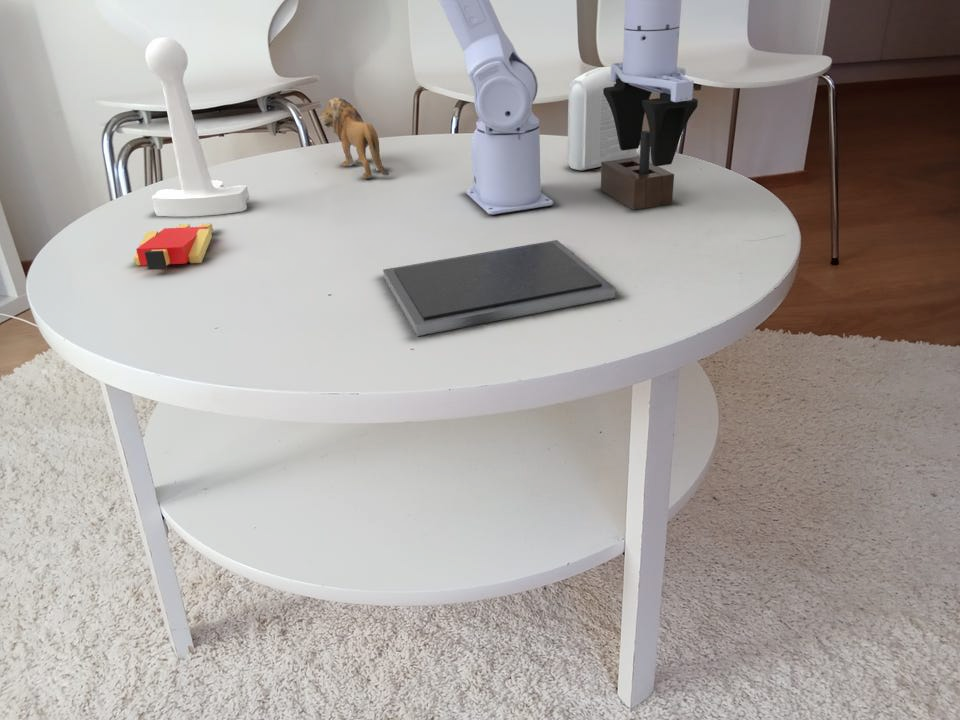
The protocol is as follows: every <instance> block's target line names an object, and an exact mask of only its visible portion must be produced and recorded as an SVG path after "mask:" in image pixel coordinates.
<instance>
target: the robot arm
mask: <svg viewBox="0 0 960 720" xmlns="http://www.w3.org/2000/svg"><path fill="white" fill-rule="evenodd" d="M438 1H439V3H440V7H442V9H443V12H444V14H445V16H446V18H447V20H448V22H449V25H450V27H451V29H452V31H453V33H454V35H455V38H456V39H457V42H458V44H459V47H460V48H461V50H462V52H463V57H464V62H465V67H466V73H467V76H468V77H469V79H470V82H471V84H472V88H473V96H474V97H473V99H474V100H473V104H474V105H473V106H474V109H475V110H474V111H475V112H476V114H477V117H478V119H477V121H476V122H475V123H476V129H474V132H473V133H472V137H471V141H470V153H471V154H470V155H471V171H472V172H471V173H472V186H473V187H472V188H467V189H466V190H465V193H466V195H467V196H468V197H469V198H471V199H472V200H473V201H474V202H475V203H476V204H477V205H478V206H479V207H480V208H482V210H484V211H485V212H486V213H487V214H488V215H492V216H493V215H498V214H506V213H511V212H517V211H525V210H530V209H531V210H532V209H537V208H544V207H551V206H552V205H554V201H553V199H551V198H550V197H548V196H547V195H546V194H544V193H542V192H541V140H540V139H541V132H540V131H541V130H540V129H541V128H540V124H541V122H540V119H539V118H538V117H537V116H536V115H535V113H534V112H533V110H532V108H533V103H534V102H535V100H536V97H537V94H538V88H539V84H538V79H537V75H536V73H535V71H534V70H533V68H532V67H531V66H530V65H529V64H528V63H527V62H526V61H524V60H523V59H522V58H521V57H520V56H519V55H518V53H517V51H516V49H515V47H514V44H513V43H512V41H511V40H510V38H509V37H508V35H507V34H506V33H505V31H504V29H503V27H502V25H501V22H500V20H499V18H498V16H497V14H496V11H495V8H494V7H493V5H492V2H491V0H438ZM624 3H625V5H624V26H623V53H622V62H615V63H614V62H613V63H611V64H610V67H611V81H612V82H616V84H614V86H613V87H606V88H604V89H603V94H604V96H605V97H606V99H607V101H608V103H609V106H610V108H611V111H612V114H613V117H614V121H615V126H616V131H617V136H618V141H619V145H620V149H621V150H623V151H624V150H631V149H636V150H638V149H640V144H641V132H642V131H643V127H644V126H643V125H644V119H645V117H646V121H647V124H648V131H650V159H651V163H652V164H653V165H654V166H658V167H662V166H669V165H672V164H673V161H674V158H675V155H676V153H677V150H678V146H679V142H680V139H681V137H682V135H683V133H684V129H685V128H686V125H687V123H688V122H689V120H690V118H691V117H692V115H693V114H694V112H695V111H696V109H698V104H699V100H698V99H697V98H694V97H693V94H694V80H693V79H689V78H687V77H686V68H684V67H682V66H681V67H680V66H678V59H679V58H678V55H679V42H680V41H679V40H680V26H681V12H682V0H624ZM652 93H654V94H656V95H659V98H658V97H657V98H651V95H652Z"/></svg>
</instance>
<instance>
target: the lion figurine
mask: <svg viewBox="0 0 960 720" xmlns="http://www.w3.org/2000/svg"><path fill="white" fill-rule="evenodd" d="M328 103H329V104H328V106H327V107H326V109H325V110H324V112H323V113H322V114H321V115H319V116H318V119H319V121H321V123H322V124H323V125H324V128H325V129H329V128H332V132H333V133H334V134H336V136H337V138H338V140H339V141H340V142H341V147H342V151H343V153H344V155H345V161H343V163H342V166H343V167H352V166H353V165H354V160H353V156H352V152H351V146H353V147H354V148H355V149H356V153H357V157H358V158H357V159H358V162H359V163H361V164H362V166H363V168H364V171H365V173H363V176H362V177H363V179H366V180H367V179H372V177H373V173H372V168H371V165H370V162H369V160H368V159H367V154H366V152H367V151H366V150H367V148H368V149H369V153H370V156H371V158H372V161H373V163H374V165H375V170H376V172H377V171H378V172H380V173H381V174H382V176H390V172H389V171H388V170H387V169H385V167H384V165H383V162H382V158H381V153H380V140H379V136H378V133H377V131H376V129H375V127H374V126H373V124H372V123H369V122H364V120H363V118H362V116H361V114H360V113H359V112H358V110H357V108H355V107H354V106H353V104H351V103H350V102H349V101H347V100H346V99H343V98H341V97H333V98H331V99H328Z"/></svg>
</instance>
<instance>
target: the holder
mask: <svg viewBox="0 0 960 720" xmlns="http://www.w3.org/2000/svg"><path fill="white" fill-rule="evenodd" d="M639 164H640V156H635V157H632V158H628V159H627V158H626V159H619V160H613V161H605V162H601V166H600V192H601V191H602V192H603V193H605V194H606V195H608V196H610V197H611V198H612V199H615V200H616V201H619V202H620V204H623V205H624V206H626V207H628V208H629V209H630V210H633V211H636V210H641V209H648V208H654V207H661V206H667V205H672V204H673V197H674V186H675V185H674V183H675V173H673V172H671V171H669V170H666V169H665V168H662V166H654V165H653V164H652V162H651V161H649V174H644V175H639Z"/></svg>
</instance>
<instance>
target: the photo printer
mask: <svg viewBox="0 0 960 720" xmlns="http://www.w3.org/2000/svg"><path fill="white" fill-rule="evenodd" d="M614 84H616V82H612V81H611V66H602V67H596V68H594V69H590V70H588V71H586V72H584V73H582V74H580V75H578V76H576V78H575V79H573V80H572V81H571V83H570V85H569V88H568V100H567V101H568V103H567V104H568V106H567V109H568V110H567V111H568V112H567V164H568V165H569V167H570V168H571V169H572V170H575V171H586V170H591V169H596V168H601V162H605V161H613V160H619V159H626V158H627V159H628V158H632V157H637V149H631V150H624V151H623V150H621V149H620V145H619V141H618V136H617V131H616V126H615V121H614V117H613V114H612V111H611V108H610V106H609V103H608V101H607V99H606V97H605V96H604V94H603V89H604V88H606V87H613V86H614Z"/></svg>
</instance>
